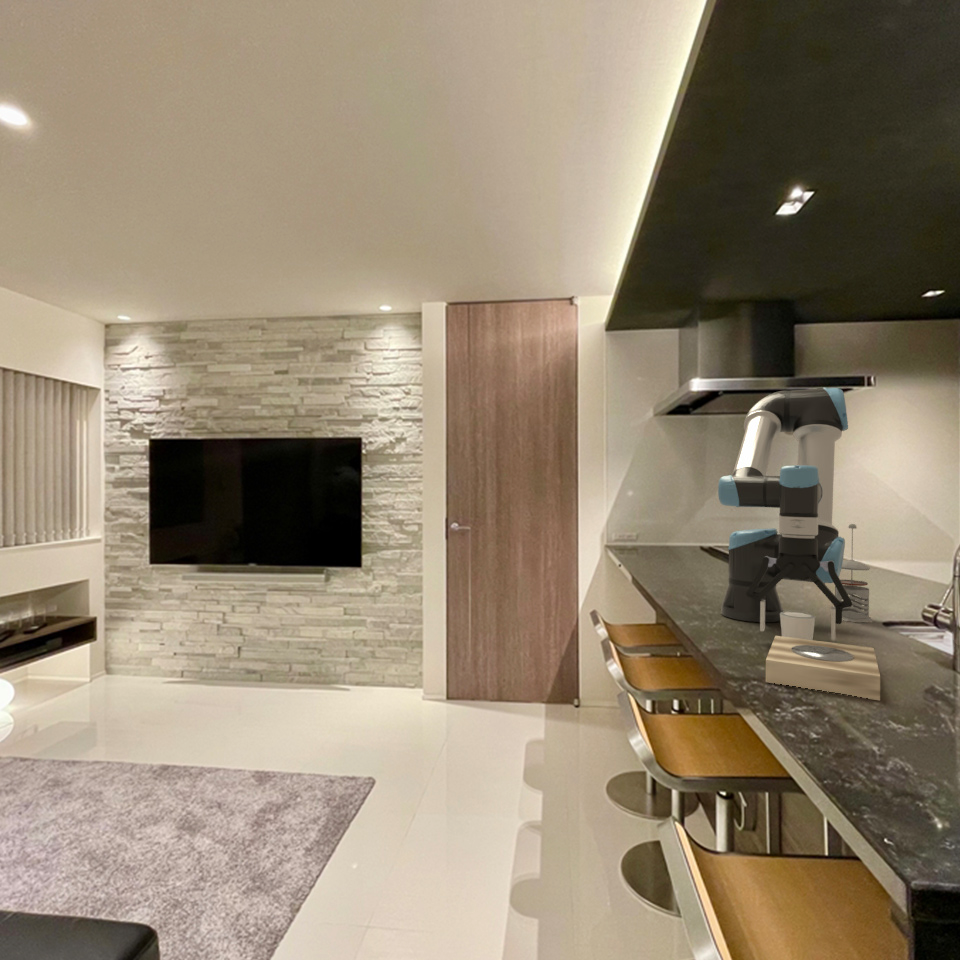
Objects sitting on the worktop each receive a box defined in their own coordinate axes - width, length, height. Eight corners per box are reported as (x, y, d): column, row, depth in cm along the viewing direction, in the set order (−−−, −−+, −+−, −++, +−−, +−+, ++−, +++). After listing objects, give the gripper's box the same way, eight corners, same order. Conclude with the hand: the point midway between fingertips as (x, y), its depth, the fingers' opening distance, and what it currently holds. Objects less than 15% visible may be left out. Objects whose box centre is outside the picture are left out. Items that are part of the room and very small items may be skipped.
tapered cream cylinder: (819, 651, 128) (820, 618, 128) (784, 649, 129) (784, 616, 129) (808, 643, 135) (809, 611, 135) (775, 641, 136) (775, 610, 136)
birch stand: (775, 655, 125) (775, 634, 125) (873, 668, 116) (873, 646, 116) (765, 682, 108) (765, 658, 108) (880, 700, 99) (880, 675, 99)
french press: (878, 624, 154) (879, 525, 154) (826, 620, 158) (827, 524, 158) (868, 616, 163) (869, 523, 163) (819, 612, 167) (820, 521, 167)
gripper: (734, 534, 135) (732, 629, 135) (866, 540, 122) (865, 646, 122) (738, 532, 141) (737, 623, 141) (865, 538, 129) (864, 639, 128)
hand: (796, 634), depth 132 cm, fingers open, 13 cm apart
